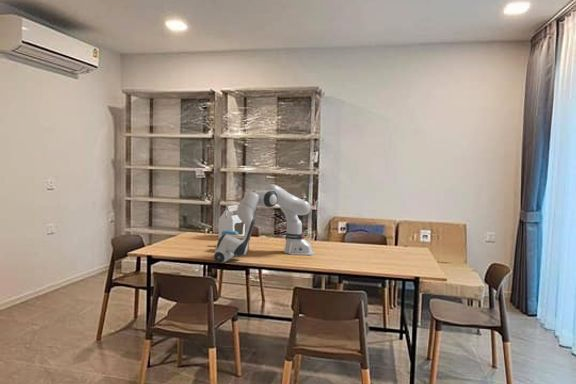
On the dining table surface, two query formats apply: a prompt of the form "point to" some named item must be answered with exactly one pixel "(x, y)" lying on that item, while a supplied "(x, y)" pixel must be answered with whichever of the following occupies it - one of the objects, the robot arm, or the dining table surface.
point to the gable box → (231, 222)
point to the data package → (230, 232)
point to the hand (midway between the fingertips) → (234, 248)
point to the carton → (241, 239)
